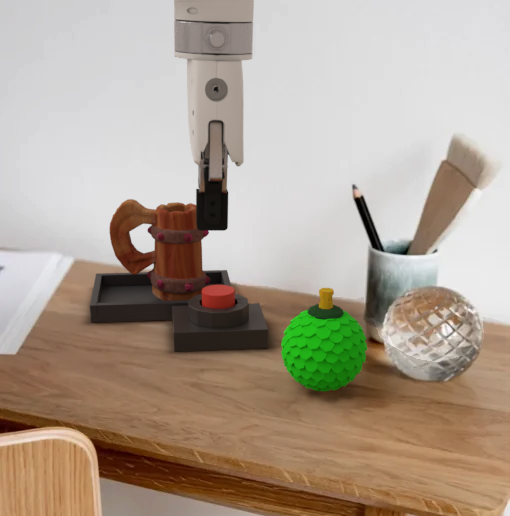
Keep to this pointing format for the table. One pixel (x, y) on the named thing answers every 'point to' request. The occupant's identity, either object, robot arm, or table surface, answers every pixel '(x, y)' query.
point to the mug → (162, 247)
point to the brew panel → (219, 326)
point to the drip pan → (135, 297)
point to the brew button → (218, 296)
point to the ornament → (324, 346)
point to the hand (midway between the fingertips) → (211, 228)
